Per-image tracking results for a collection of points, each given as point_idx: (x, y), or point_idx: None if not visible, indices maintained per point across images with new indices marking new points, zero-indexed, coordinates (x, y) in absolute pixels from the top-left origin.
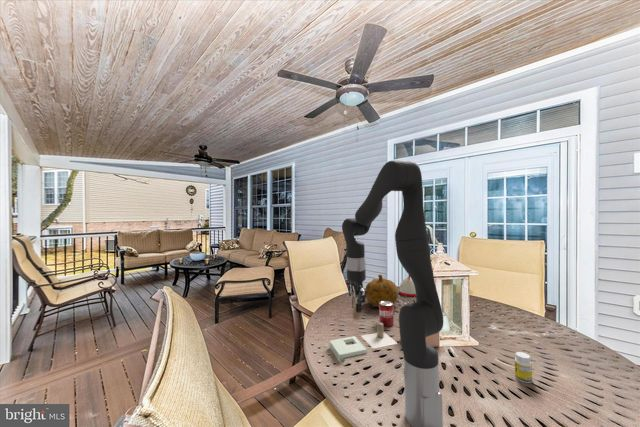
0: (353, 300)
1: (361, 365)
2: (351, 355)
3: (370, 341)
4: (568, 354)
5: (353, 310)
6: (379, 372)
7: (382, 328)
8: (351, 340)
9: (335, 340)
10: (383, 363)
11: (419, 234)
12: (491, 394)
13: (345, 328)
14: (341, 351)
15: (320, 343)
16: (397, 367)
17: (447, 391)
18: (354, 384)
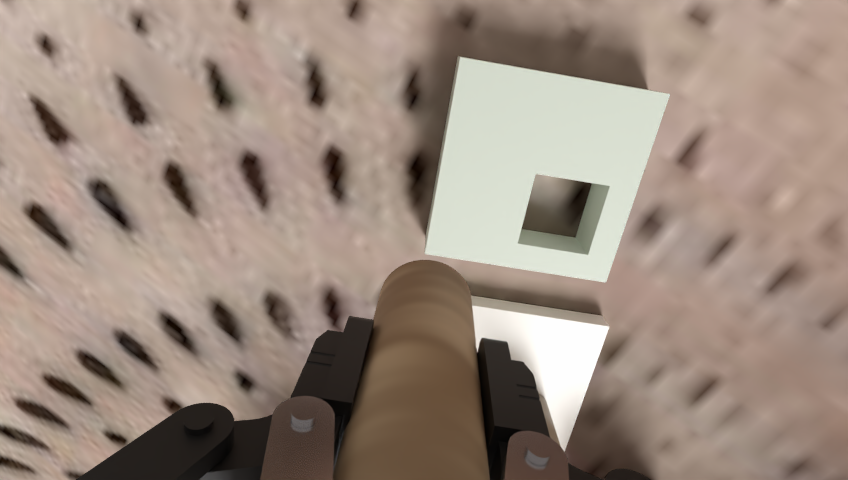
0: (405, 416)
1: (366, 158)
2: (443, 144)
3: (518, 334)
4: None
5: (420, 310)
6: (270, 204)
7: None
8: (587, 241)
9: (643, 136)
10: (328, 270)
11: None
12: (4, 460)
13: (778, 312)
14: (489, 94)
15: (741, 55)
16: (270, 304)
17: (55, 357)
18: (229, 16)
